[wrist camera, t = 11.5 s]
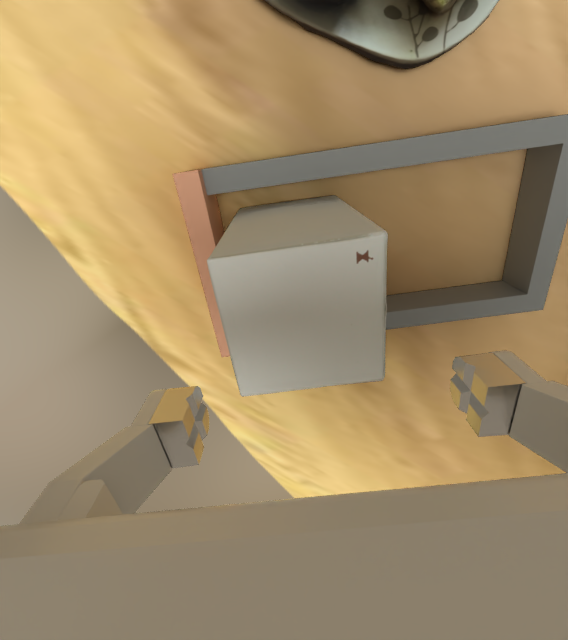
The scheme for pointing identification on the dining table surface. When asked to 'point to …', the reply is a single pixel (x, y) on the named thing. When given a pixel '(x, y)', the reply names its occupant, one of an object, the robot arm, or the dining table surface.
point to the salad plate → (391, 25)
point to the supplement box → (302, 295)
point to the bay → (535, 190)
